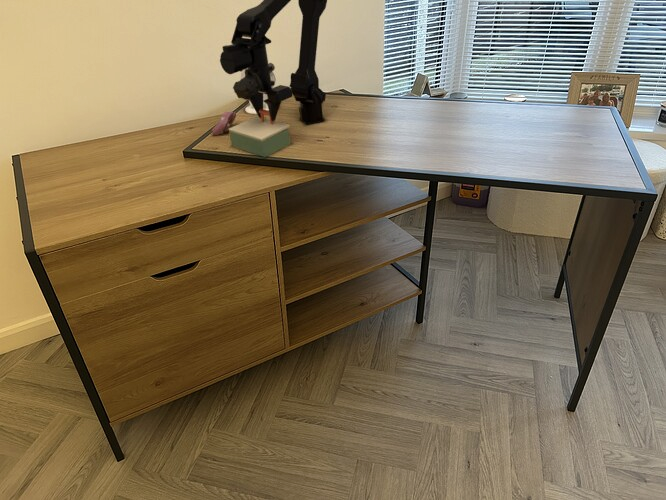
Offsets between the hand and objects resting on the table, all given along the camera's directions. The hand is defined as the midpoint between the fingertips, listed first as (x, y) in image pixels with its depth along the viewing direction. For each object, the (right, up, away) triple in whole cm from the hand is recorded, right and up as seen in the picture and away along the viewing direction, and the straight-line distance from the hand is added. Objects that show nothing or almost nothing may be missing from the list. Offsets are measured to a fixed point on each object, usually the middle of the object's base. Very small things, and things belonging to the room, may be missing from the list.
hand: (267, 119), depth 140 cm
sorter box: (-2, -7, +2) cm, 8 cm away
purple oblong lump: (-15, 0, +14) cm, 20 cm away
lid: (-2, -3, -1) cm, 4 cm away
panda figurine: (-5, +11, +28) cm, 31 cm away
